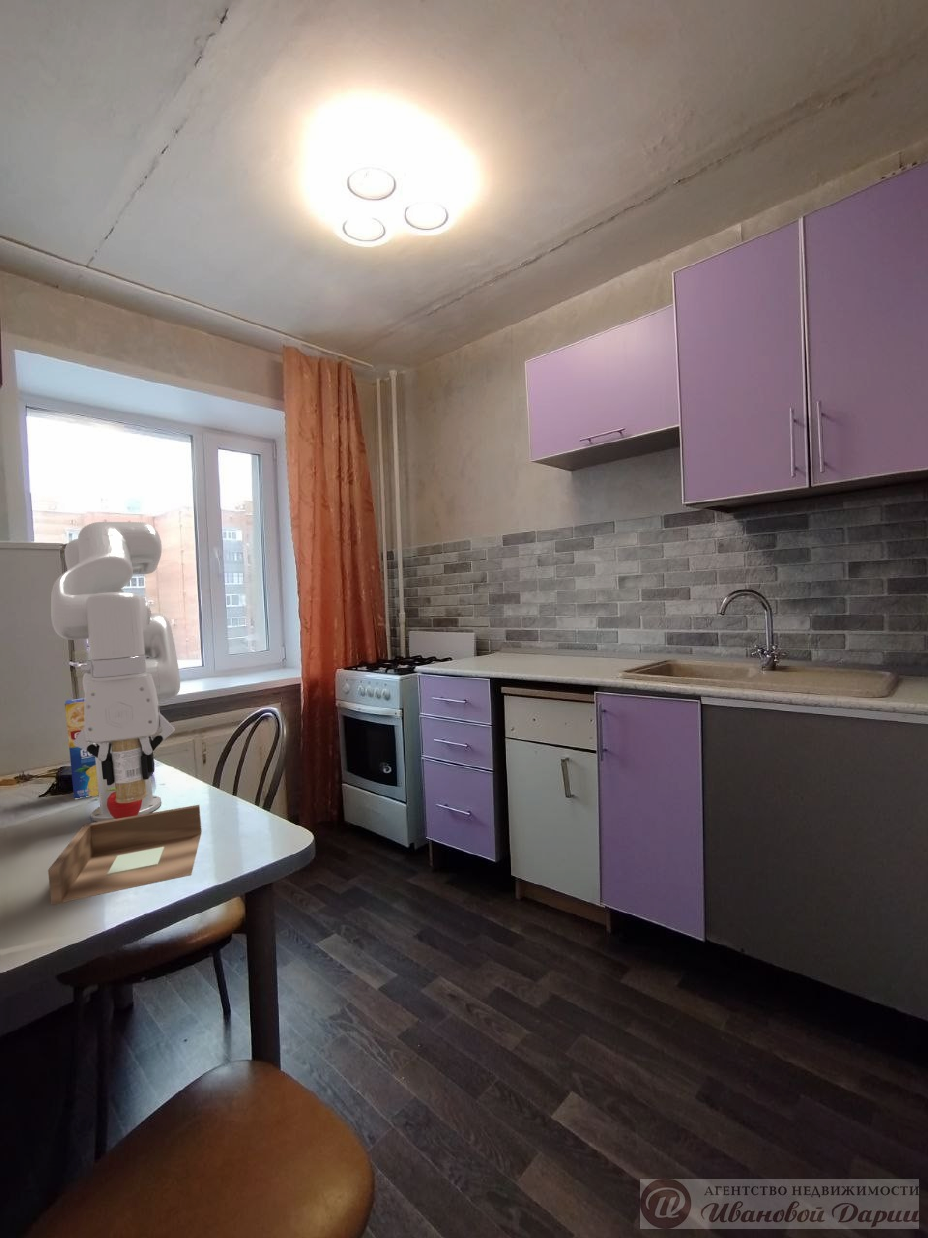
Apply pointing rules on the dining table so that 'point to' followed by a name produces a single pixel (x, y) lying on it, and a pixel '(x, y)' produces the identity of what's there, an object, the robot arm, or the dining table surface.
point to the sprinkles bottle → (128, 770)
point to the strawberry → (122, 807)
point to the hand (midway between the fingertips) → (129, 779)
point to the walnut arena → (103, 841)
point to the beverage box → (80, 753)
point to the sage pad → (136, 860)
